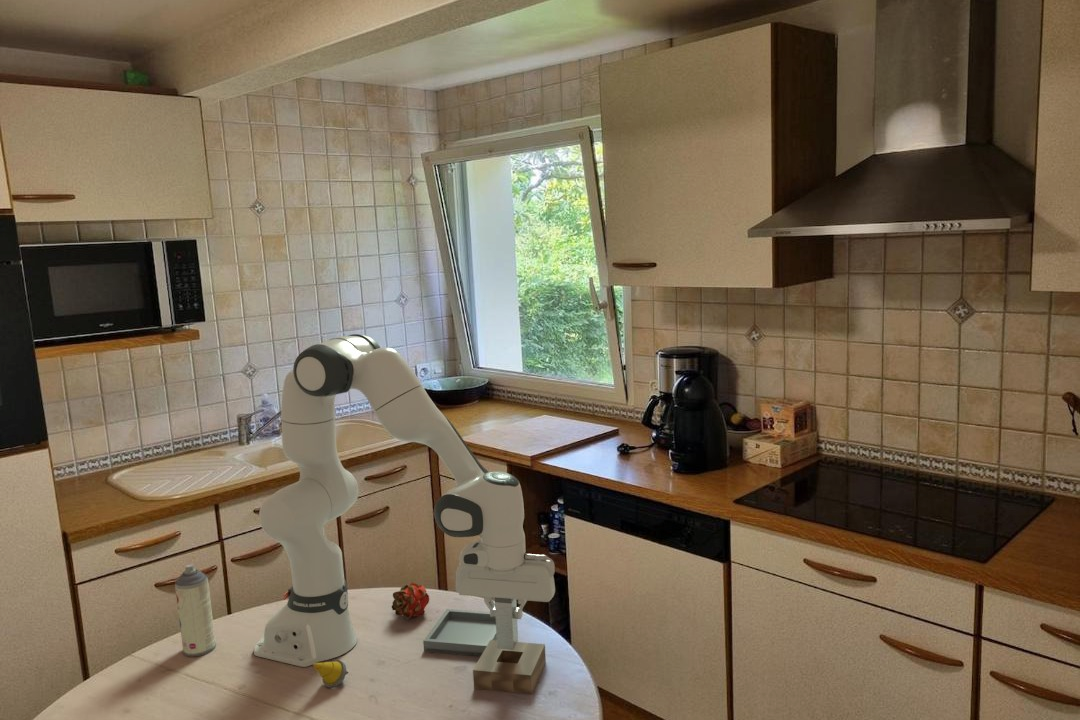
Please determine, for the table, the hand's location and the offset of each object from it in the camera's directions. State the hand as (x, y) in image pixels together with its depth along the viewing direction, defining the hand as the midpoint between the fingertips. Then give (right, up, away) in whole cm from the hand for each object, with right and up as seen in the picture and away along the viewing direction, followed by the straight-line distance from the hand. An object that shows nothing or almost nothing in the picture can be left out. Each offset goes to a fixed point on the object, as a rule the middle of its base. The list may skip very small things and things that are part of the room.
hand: (506, 616), depth 162 cm
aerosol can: (-70, -13, +18) cm, 74 cm away
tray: (-10, -10, +18) cm, 23 cm away
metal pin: (0, -6, +1) cm, 6 cm away
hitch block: (+1, -13, +2) cm, 13 cm away
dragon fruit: (-24, -9, +30) cm, 40 cm away
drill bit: (-35, -15, +1) cm, 38 cm away
